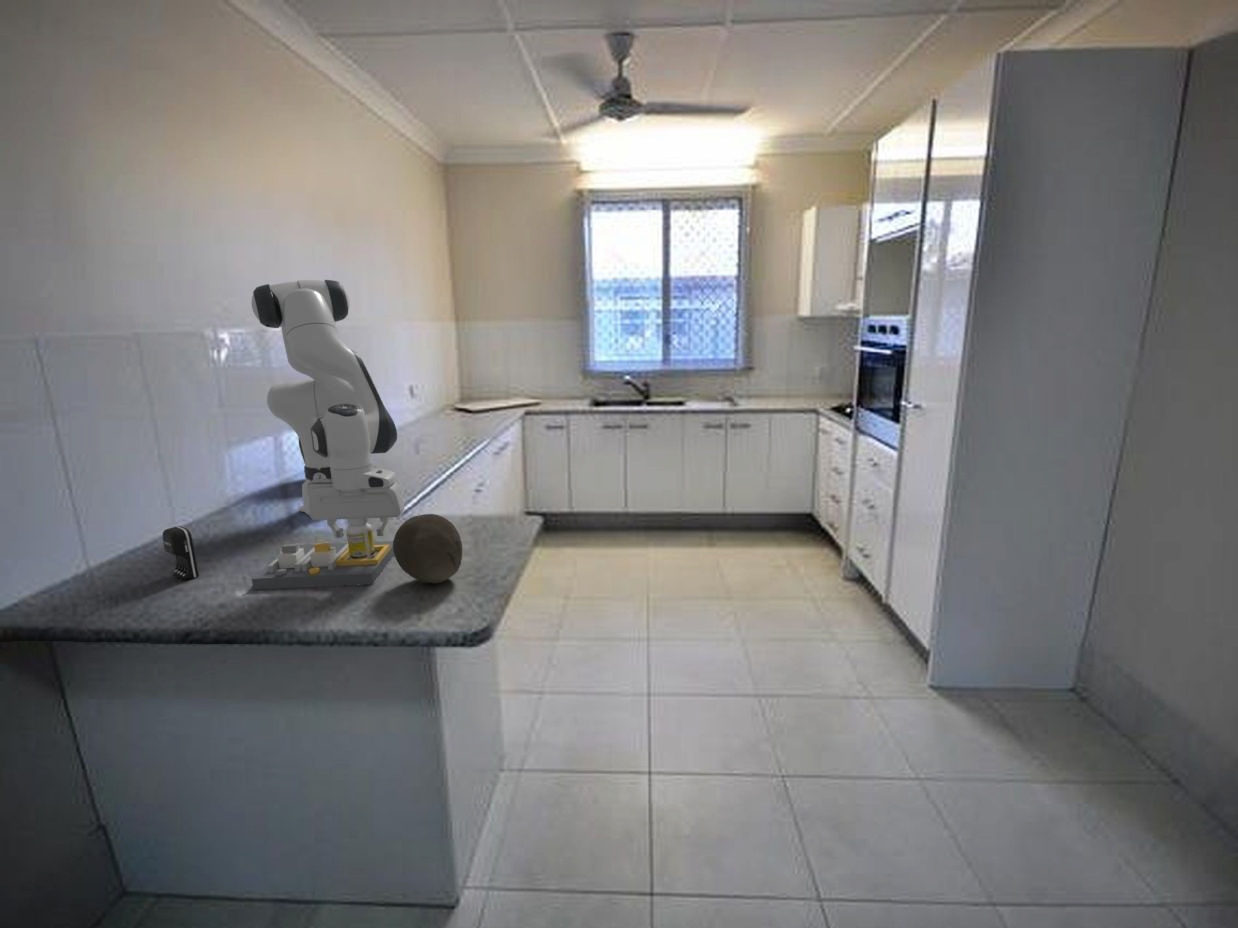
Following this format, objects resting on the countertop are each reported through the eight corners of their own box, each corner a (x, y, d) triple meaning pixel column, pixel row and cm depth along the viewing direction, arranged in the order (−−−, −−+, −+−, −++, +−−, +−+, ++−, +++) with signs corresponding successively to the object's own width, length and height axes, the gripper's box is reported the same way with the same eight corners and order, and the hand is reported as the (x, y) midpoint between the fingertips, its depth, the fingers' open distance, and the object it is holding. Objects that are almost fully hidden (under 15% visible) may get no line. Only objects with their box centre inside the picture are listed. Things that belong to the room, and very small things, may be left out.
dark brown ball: (460, 564, 145) (455, 503, 141) (469, 588, 132) (463, 521, 128) (396, 574, 140) (389, 510, 136) (398, 600, 127) (391, 531, 124)
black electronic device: (168, 576, 142) (158, 528, 139) (187, 570, 145) (177, 523, 142) (181, 583, 138) (171, 534, 135) (200, 577, 141) (191, 529, 138)
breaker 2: (318, 560, 142) (316, 541, 141) (336, 559, 143) (334, 540, 141) (311, 566, 138) (308, 547, 137) (330, 566, 139) (327, 546, 138)
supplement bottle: (367, 550, 148) (362, 511, 145) (379, 556, 144) (375, 515, 142) (345, 557, 144) (340, 517, 141) (357, 563, 140) (352, 522, 138)
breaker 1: (287, 561, 142) (284, 542, 141) (305, 560, 142) (302, 541, 141) (279, 568, 138) (276, 548, 137) (297, 567, 138) (294, 548, 137)
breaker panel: (294, 554, 153) (291, 538, 152) (398, 550, 155) (396, 534, 154) (253, 589, 134) (250, 571, 133) (372, 584, 135) (370, 566, 134)
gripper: (299, 483, 136) (308, 542, 139) (395, 479, 137) (401, 539, 140) (311, 475, 142) (319, 533, 145) (402, 472, 143) (408, 529, 146)
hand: (360, 536), depth 143 cm, fingers open, 8 cm apart
